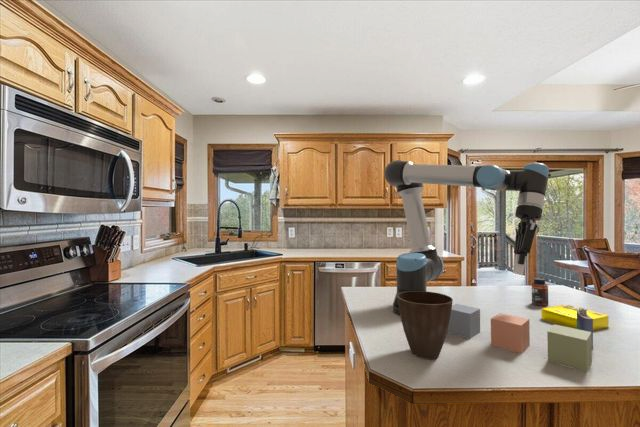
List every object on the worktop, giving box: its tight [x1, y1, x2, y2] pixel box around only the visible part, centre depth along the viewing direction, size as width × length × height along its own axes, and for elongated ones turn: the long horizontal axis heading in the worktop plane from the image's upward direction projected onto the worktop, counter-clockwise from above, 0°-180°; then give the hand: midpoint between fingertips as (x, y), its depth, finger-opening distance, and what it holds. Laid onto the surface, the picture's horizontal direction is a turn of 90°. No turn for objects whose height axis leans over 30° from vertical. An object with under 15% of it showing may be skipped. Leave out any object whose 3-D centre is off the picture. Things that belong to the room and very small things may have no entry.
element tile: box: [540, 304, 610, 331], centre depth 112 cm, size 15×15×5 cm
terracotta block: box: [490, 312, 531, 354], centre depth 92 cm, size 8×8×8 cm
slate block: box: [447, 303, 481, 340], centre depth 102 cm, size 8×8×8 cm
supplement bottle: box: [531, 277, 549, 307], centre depth 134 cm, size 6×6×11 cm
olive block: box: [546, 323, 593, 373], centre depth 82 cm, size 8×8×8 cm
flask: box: [577, 307, 594, 350], centre depth 93 cm, size 9×3×11 cm, turn 151°
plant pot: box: [397, 290, 454, 360], centre depth 87 cm, size 15×15×16 cm
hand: (517, 273), depth 102 cm, fingers closed
